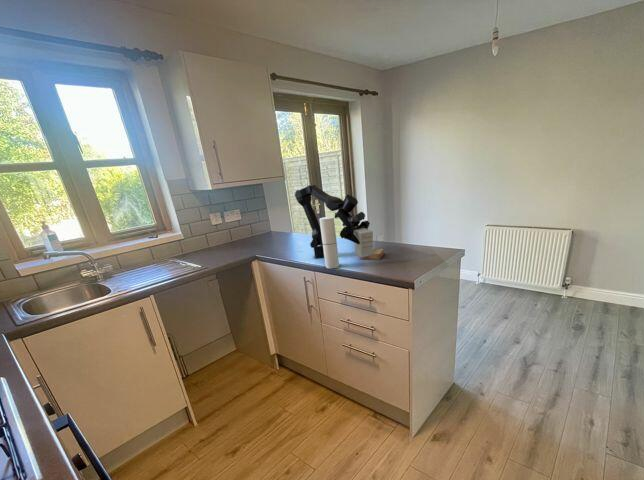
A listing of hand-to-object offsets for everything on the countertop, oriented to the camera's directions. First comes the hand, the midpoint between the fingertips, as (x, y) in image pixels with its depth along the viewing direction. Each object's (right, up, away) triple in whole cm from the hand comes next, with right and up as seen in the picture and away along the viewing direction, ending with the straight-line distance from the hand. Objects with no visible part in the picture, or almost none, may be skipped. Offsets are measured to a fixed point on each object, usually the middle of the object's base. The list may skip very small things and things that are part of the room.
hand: (364, 241), depth 158 cm
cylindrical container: (-17, -12, +6) cm, 22 cm away
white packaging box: (0, -6, +4) cm, 7 cm away
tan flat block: (+5, -5, +16) cm, 18 cm away
